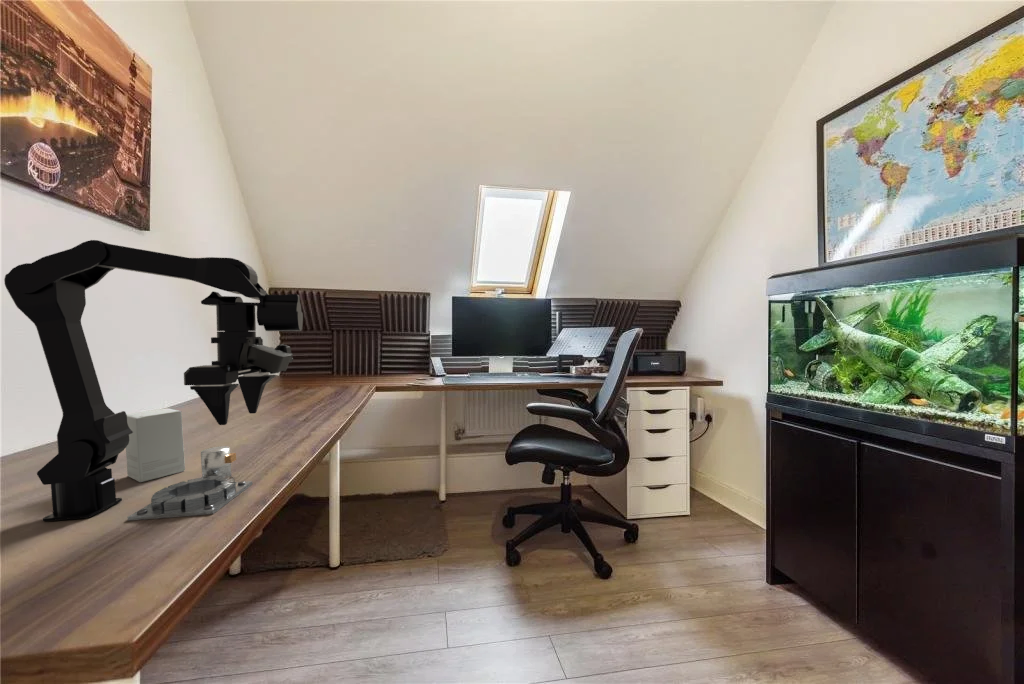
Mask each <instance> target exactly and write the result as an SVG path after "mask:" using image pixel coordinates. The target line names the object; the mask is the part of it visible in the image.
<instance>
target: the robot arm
mask: <svg viewBox="0 0 1024 684" xmlns="http://www.w3.org/2000/svg"><path fill="white" fill-rule="evenodd" d="M115 269H118V270H122V271H123V270H124V271H131V272H136V273H142V274H150V275H156V276H160V277H161V276H162V277H169V278H175V279H181V280H187V281H192V282H195V283H199V284H202V285H206V286H209V287H211V288H214V289H219V290H221V291H225V292H227V293H228V292H229V293H232V294H236V295H242V296H243V297H245V298H249V299H253V300H257V301H259V302H247V301H244V300H243V299H242V297H241V296H235V295H234V296H232V295H230V296H229V295H227V296H225V295H224V296H222V295H221V293H219V292H217V291H212V292H211V293H210V294H209V295H208V296H206V297H205V298H203V299H202V300H201V301H200V304H201V305H203V306H213V307H215V308H216V311H215V312H216V313H215V314H216V336H215V337H213V336H212V337H210V344H216V352H217V360H212V361H211V364H209V365H207V364H206V365H198V366H197V365H196V366H190V367H189V368H187V370H186V371H184V372H183V385H184V386H189V387H190V390H192V391H195V393H196V394H197V395H198V397H199V398H200V399H201V401H202V402H203V403H204V405H205V406H206V408H207V409H208V410H209V413H210V414H211V415H212V416H213V418H214V420H215V421H216V423H217V424H218V425H219V426H226V425H227V424H228V422H229V421H228V420H229V414H230V413H229V412H230V411H229V410H230V401H231V394H232V393H233V392H234V390H235V389H236V388H237V387H238V386H239V388H240V390H241V391H240V392H241V394H242V397H243V400H244V402H245V406H246V408H247V410H248V413H249V414H251V415H252V414H257V411H258V408H259V405H260V402H261V398H262V396H263V392H264V389H265V387H266V385H267V384H268V383H269V382H270V381H271V380H272V379H275V378H276V376H277V374H279V373H280V372H286V371H287V369H288V366H289V364H290V363H292V362H294V358H293V355H294V354H293V353H292V348H291V346H289V345H286V344H277V346H275V348H274V347H273V346H270V347H269V346H266V345H264V339H263V338H262V337H261V336H257V331H256V329H257V327H256V323H257V324H258V325H257V326H261V327H262V326H263V328H264V330H265V332H302V330H303V324H304V313H303V312H302V305H301V301H300V300H301V297H300V295H299V294H297V293H288V294H269V293H268V292H267V290H265V289H264V288H263V287H262V285H261V284H260V283H259V282H258V281H259V277H258V274H257V272H256V270H255V269H254V268H253V267H252V266H250V265H249V264H247V263H245V262H243V261H241V260H240V259H236V258H232V257H213V256H211V257H208V256H207V257H186V256H182V255H174V254H170V253H169V254H168V253H165V252H164V253H163V252H157V251H151V250H147V249H139V248H134V247H129V246H123V245H118V244H117V245H116V244H111V243H108V242H104V241H102V240H95V239H90V240H86V241H83V242H81V243H79V244H77V245H76V246H74V247H71V248H69V249H65V250H62V251H59V252H55V253H52V254H49V255H46V256H43V257H40V258H38V259H37V260H35V261H33V262H31V263H29V262H28V263H27V262H26V263H22V264H18V265H16V266H15V267H13V268H11V269H10V271H9V272H8V273H5V276H4V279H3V280H4V286H5V288H6V290H7V292H8V295H10V298H11V299H12V302H13V303H14V304H15V306H16V308H17V309H18V310H20V312H21V313H23V314H24V316H26V317H27V318H28V319H29V320H30V321H31V322H32V323H33V324H34V326H35V328H36V331H37V334H38V337H39V340H40V344H41V347H42V350H43V352H44V357H45V361H46V363H47V365H48V369H49V373H50V376H51V380H52V382H53V385H54V386H53V387H54V389H55V392H56V395H57V399H58V401H59V405H60V409H61V412H62V418H61V420H60V424H59V427H58V429H57V430H58V431H57V434H56V439H57V440H56V443H57V454H56V455H55V456H54V457H53V458H52V459H50V460H49V461H48V462H47V463H46V464H45V465H44V466H43V467H41V468H40V469H39V470H38V471H36V474H37V477H38V479H39V480H40V481H41V484H42V485H43V486H45V485H50V492H51V494H50V495H51V502H52V503H51V505H52V506H51V508H52V513H51V514H48V515H45V516H44V517H42V522H52V521H64V520H65V521H66V520H75V519H76V520H77V519H87V518H91V517H93V516H95V515H97V514H98V513H101V512H102V511H104V510H107V509H108V508H111V507H112V506H115V505H116V504H119V503H120V502H122V500H123V499H122V497H117V495H116V480H115V478H114V477H113V471H112V469H113V468H108V467H110V466H111V465H114V464H116V462H117V459H118V458H119V454H121V453H122V452H123V451H124V450H126V446H127V445H128V444H129V434H132V433H133V431H132V430H131V429H130V428H129V426H128V423H127V413H126V411H124V410H121V411H120V412H116V413H115V412H114V411H113V410H112V409H110V407H109V406H107V404H106V402H105V399H104V396H103V393H102V390H101V386H100V382H99V380H98V379H99V378H98V375H97V372H96V369H95V365H94V362H93V358H92V355H91V352H90V349H89V346H88V345H89V344H88V342H87V339H86V336H85V332H84V329H83V325H82V317H83V314H84V310H85V308H86V305H87V301H86V290H87V289H89V288H91V287H93V286H95V285H96V284H98V283H99V282H100V281H101V280H102V279H104V278H105V277H106V276H107V274H108V273H110V272H111V271H113V270H115ZM237 381H238V383H236V382H237Z"/></svg>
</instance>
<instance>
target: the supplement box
mask: <svg viewBox="0 0 1024 684" xmlns="http://www.w3.org/2000/svg"><path fill="white" fill-rule="evenodd" d="M126 415H127V423H128V426H129V428H130V429H131V430H132V431H133V433H132V434H129V444H128V445H127V446H126V448H125V457H126V459H125V460H126V472H127V477H128V478H131V479H133V480H135V481H136V482H139V483H143V482H147V481H151V480H155V479H159V478H163V477H167V476H170V475H171V476H172V475H174V474H179V473H183V472H184V471H185V470H186V463H185V450H184V435H183V432H184V431H183V419H182V418H183V417H182V415H183V414H182V411H181V410H178V409H172V408H169V407H167V408H159V409H153V410H146V411H139V412H135V413H128V414H127V413H126Z"/></svg>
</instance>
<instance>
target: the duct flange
mask: <svg viewBox="0 0 1024 684" xmlns="http://www.w3.org/2000/svg"><path fill="white" fill-rule="evenodd" d="M252 485H253V480H251V481H250V480H247V481H245V480H241V481H236V478H235V477H234V476H232V477H230V476H222V475H221V476H208V477H206V478H205V477H202V476H201V477H196V478H192V479H187V481H185V480H182V481H180V482H177V483H174V484H171V485H168V486H167V487H164V488H162V489H161V488H160V490H158V491H156V492H154V493H153V494H152V495H151V500H150V503H149V504H147V505H145V506H144V507H142V508H141V509H139V510H137V511H135V512H134V513H131V514H130V515H128V516H127V518H126V519H127V521H140V520H152V519H155V520H156V519H166V518H168V519H169V518H181V517H182V518H183V517H193V516H204V515H205V516H207V515H214V514H215V513H217V512H218V511H219V510H220V509H222V508H223V507H225V506H226V505H227V504H228V503H230V502H231V501H232V500H233V499H235V498H237V496H239V495H240V494H241V493H243V492H244V491H245V490H247V489H248V488H249V487H251V486H252Z"/></svg>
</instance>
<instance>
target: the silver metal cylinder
mask: <svg viewBox="0 0 1024 684" xmlns="http://www.w3.org/2000/svg"><path fill="white" fill-rule="evenodd" d="M200 460H201V461H200V463H201V477H205V478H206V477H208V476H221V475H222V476H230V477H233V476H232V464H233V462H235V461H237V453H236V452H231V447H230V446H227V445H220V446H219V445H218V446H214V447H210V448H205V449H203V450H201V451H200Z"/></svg>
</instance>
